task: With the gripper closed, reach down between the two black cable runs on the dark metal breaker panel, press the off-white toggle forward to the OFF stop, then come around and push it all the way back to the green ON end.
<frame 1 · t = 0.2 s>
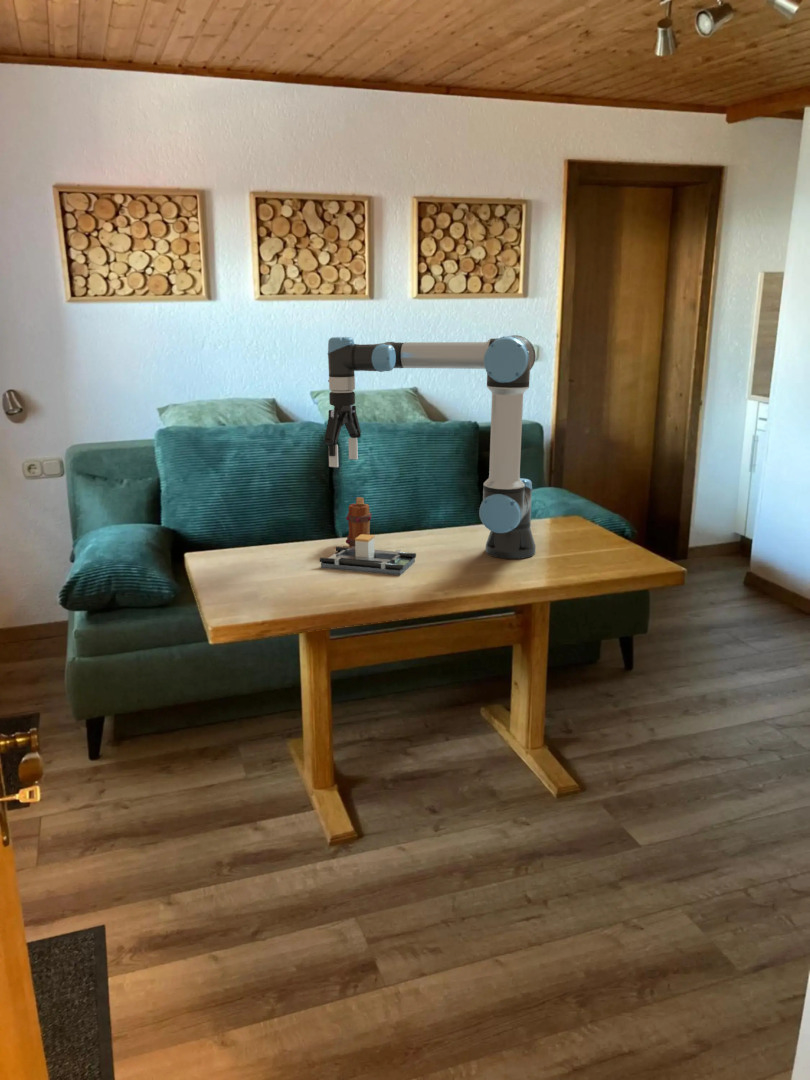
hand: (343, 463, 256), 28 cm above the table, fingers open, 13 cm apart
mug: (360, 547, 268), on the table
panel: (368, 564, 250), on the table
toggle: (364, 547, 249), point 5 cm above the table, slide at 6.0 cm
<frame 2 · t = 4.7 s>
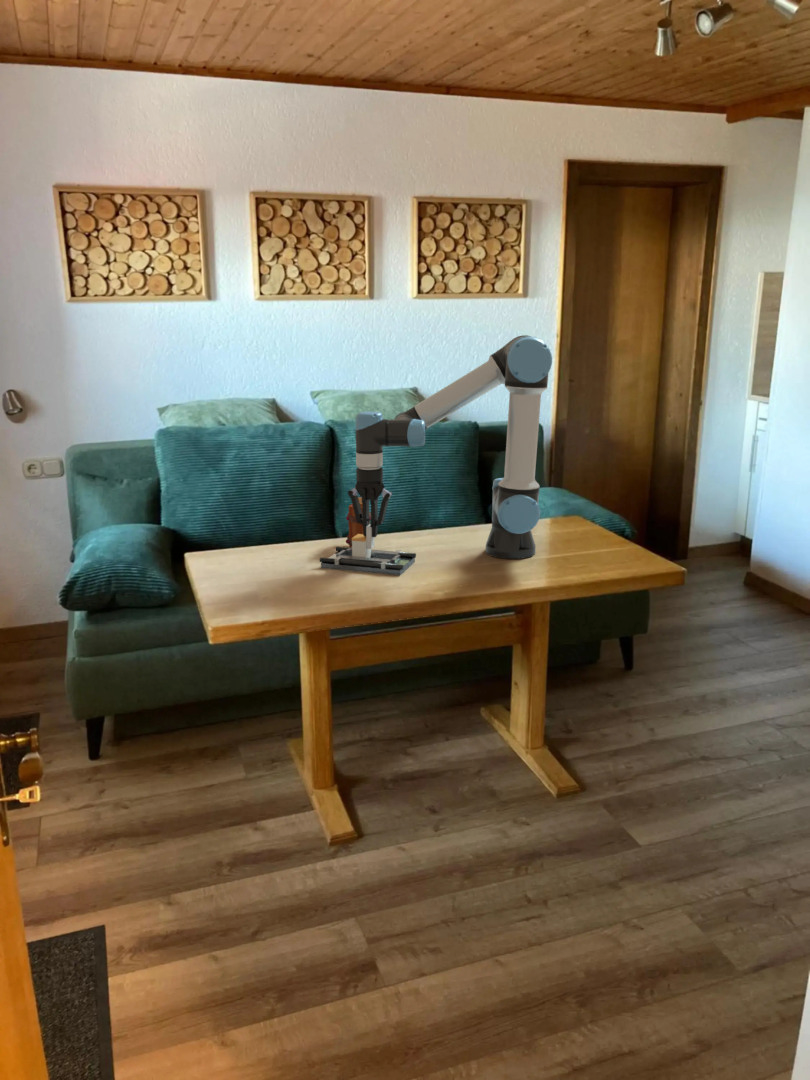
hand: (370, 547, 248), 5 cm above the table, fingers closed
toggle: (361, 547, 249), point 5 cm above the table, slide at 7.0 cm, touching gripper
everything else where it was.
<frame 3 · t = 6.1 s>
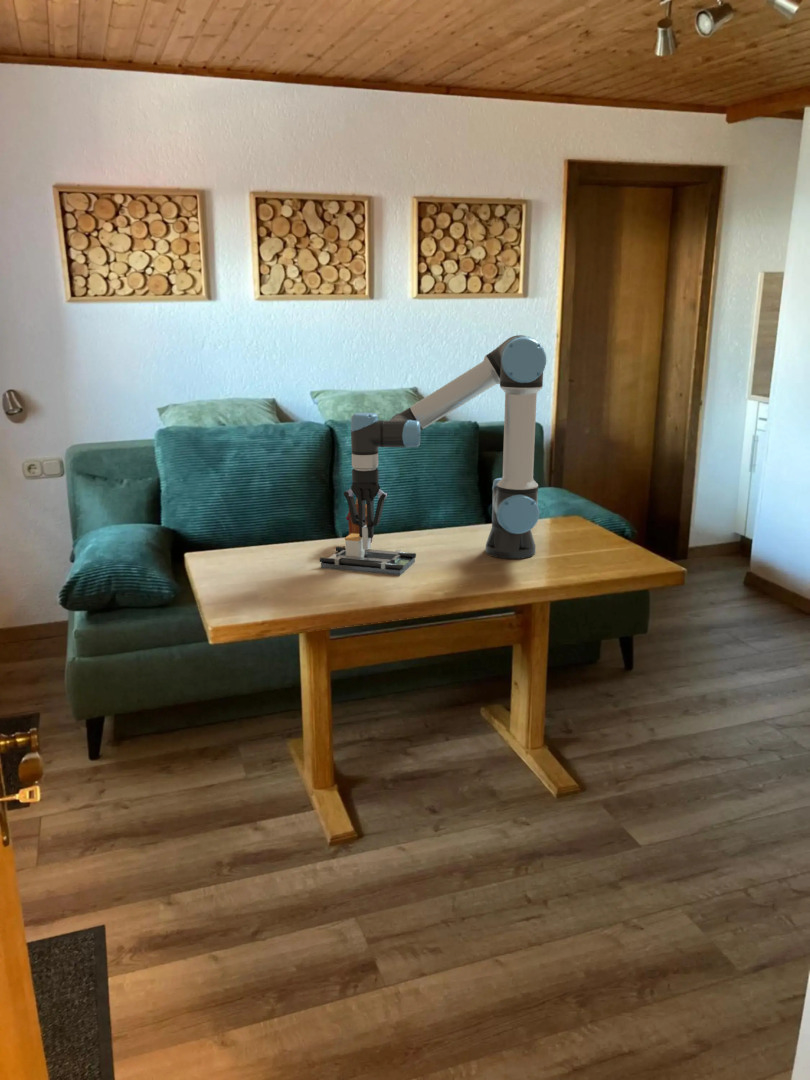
hand: (366, 548, 248), 5 cm above the table, fingers closed
toggle: (355, 547, 249), point 5 cm above the table, slide at 9.1 cm, touching gripper
everything else where it was.
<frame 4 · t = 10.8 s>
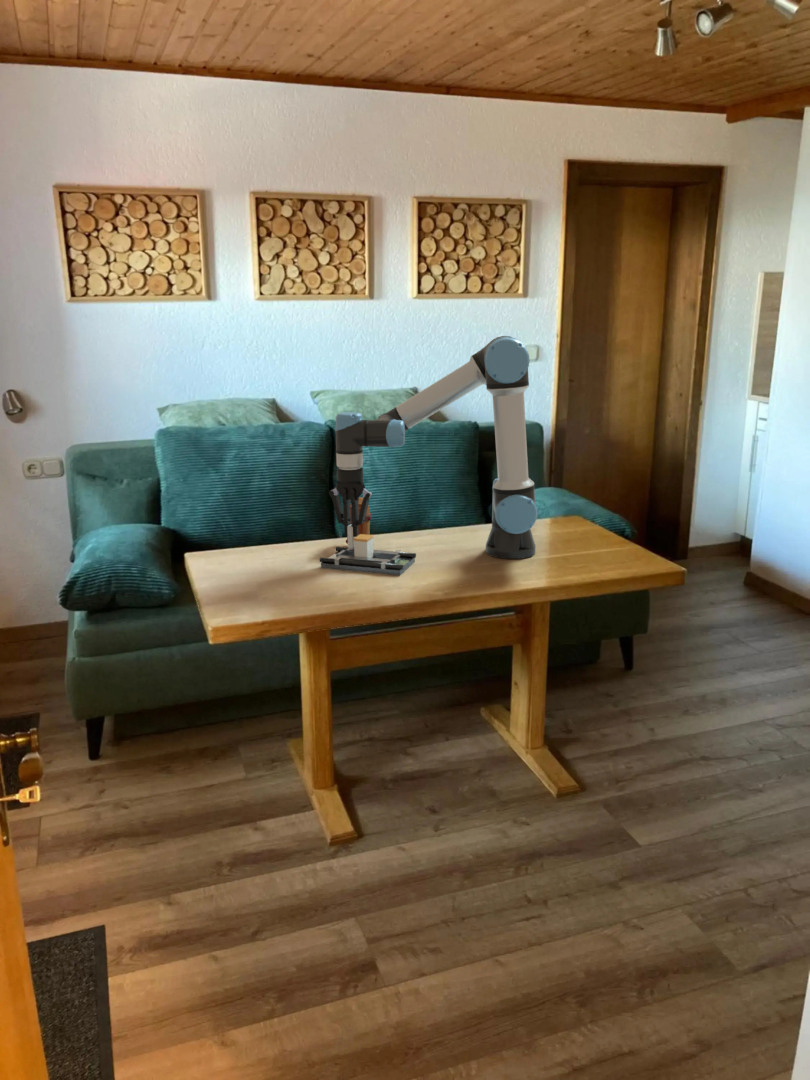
hand: (351, 546, 250), 5 cm above the table, fingers closed
toggle: (363, 547, 249), point 5 cm above the table, slide at 6.3 cm, touching gripper
everything else where it was.
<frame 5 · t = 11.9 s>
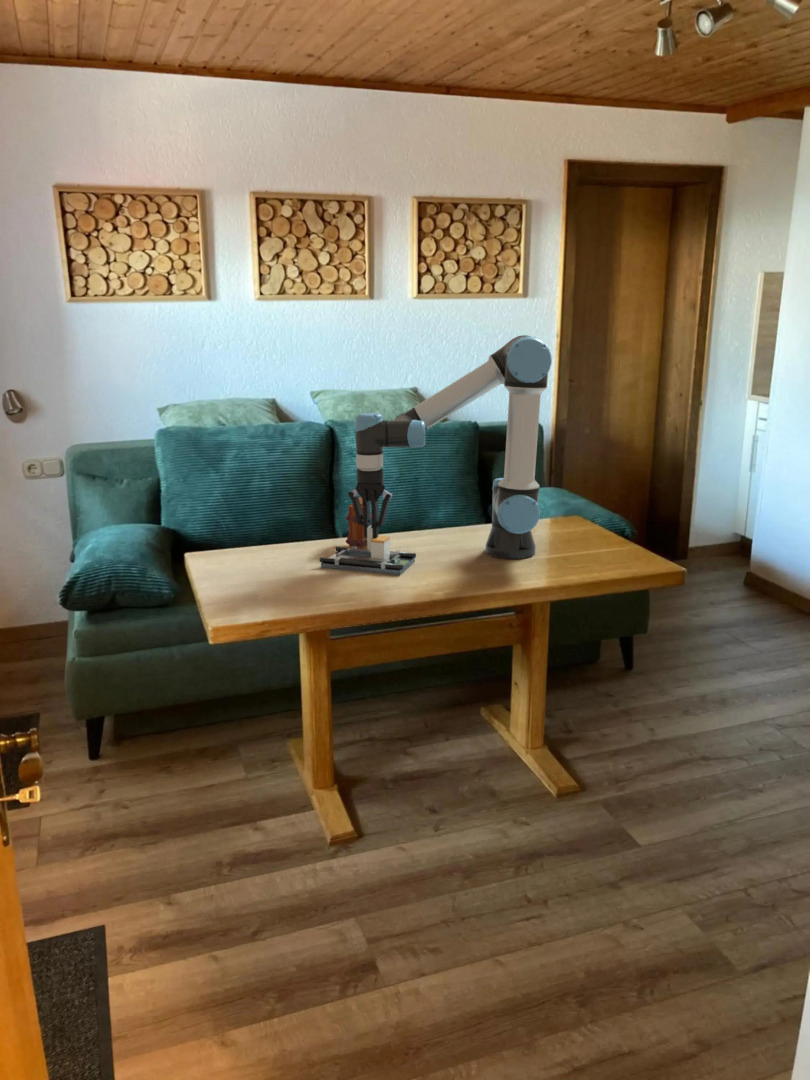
hand: (371, 548, 248), 5 cm above the table, fingers closed
toggle: (380, 549, 247), point 5 cm above the table, slide at 1.2 cm, touching gripper
everything else where it was.
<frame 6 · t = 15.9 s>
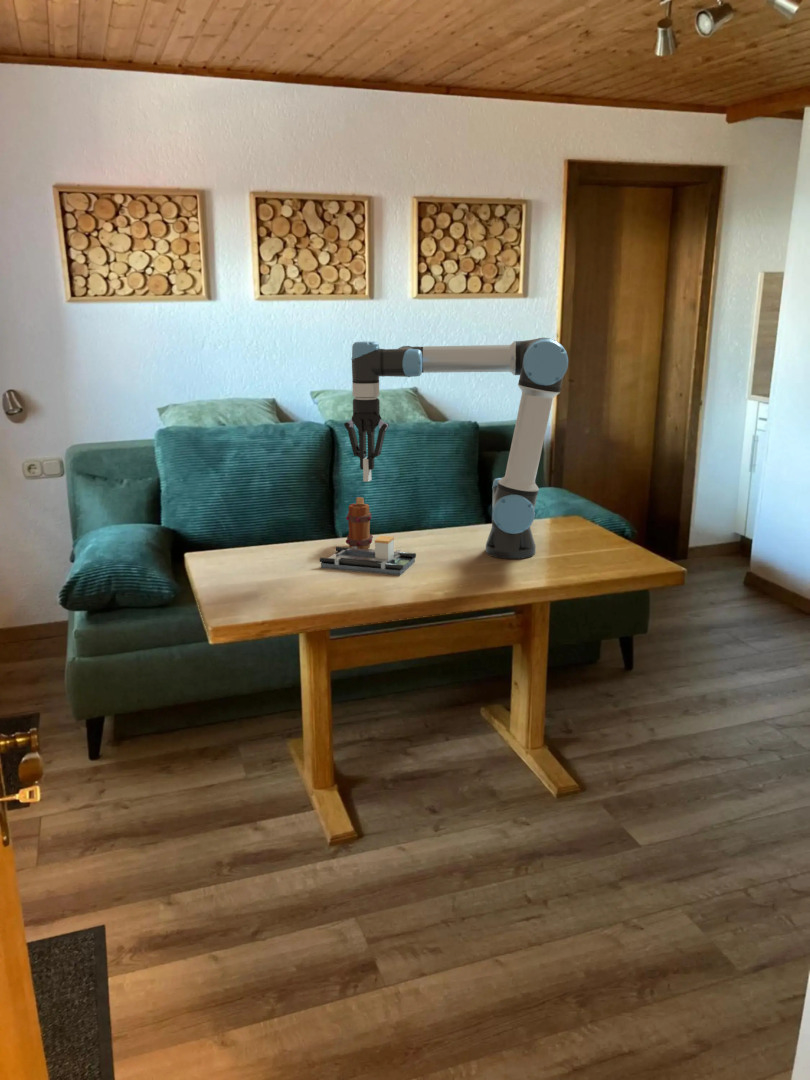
hand: (367, 480, 246), 24 cm above the table, fingers closed
toggle: (384, 549, 247), point 5 cm above the table, slide at 0.0 cm
everything else where it was.
at the end: toggle slide at 0.0 cm; toggle touching nothing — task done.
